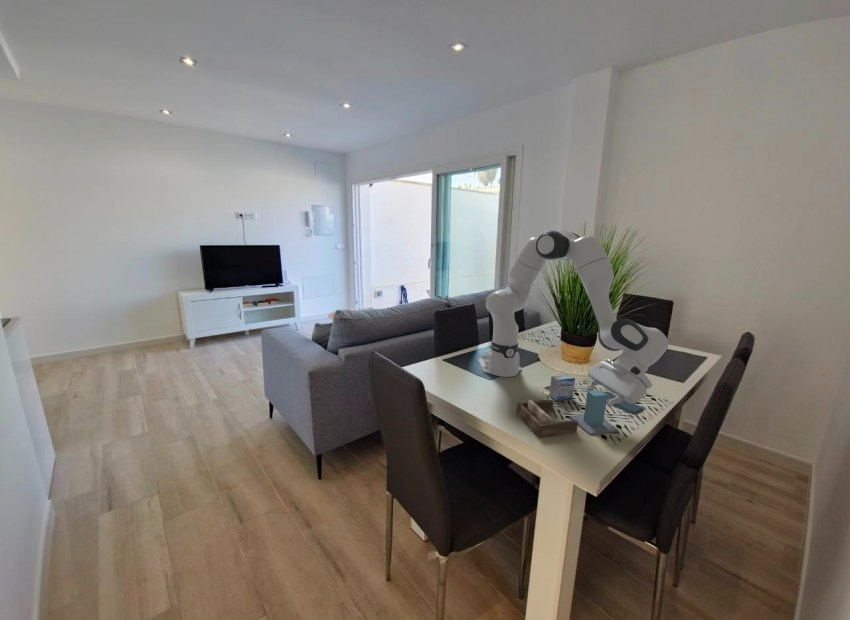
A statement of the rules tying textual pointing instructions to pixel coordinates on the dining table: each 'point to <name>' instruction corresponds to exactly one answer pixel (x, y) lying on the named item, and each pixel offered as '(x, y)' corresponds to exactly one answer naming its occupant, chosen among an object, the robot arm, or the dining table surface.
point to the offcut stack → (538, 413)
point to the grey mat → (594, 429)
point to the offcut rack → (545, 428)
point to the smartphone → (625, 405)
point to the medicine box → (562, 387)
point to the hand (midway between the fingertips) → (597, 397)
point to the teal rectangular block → (595, 407)
